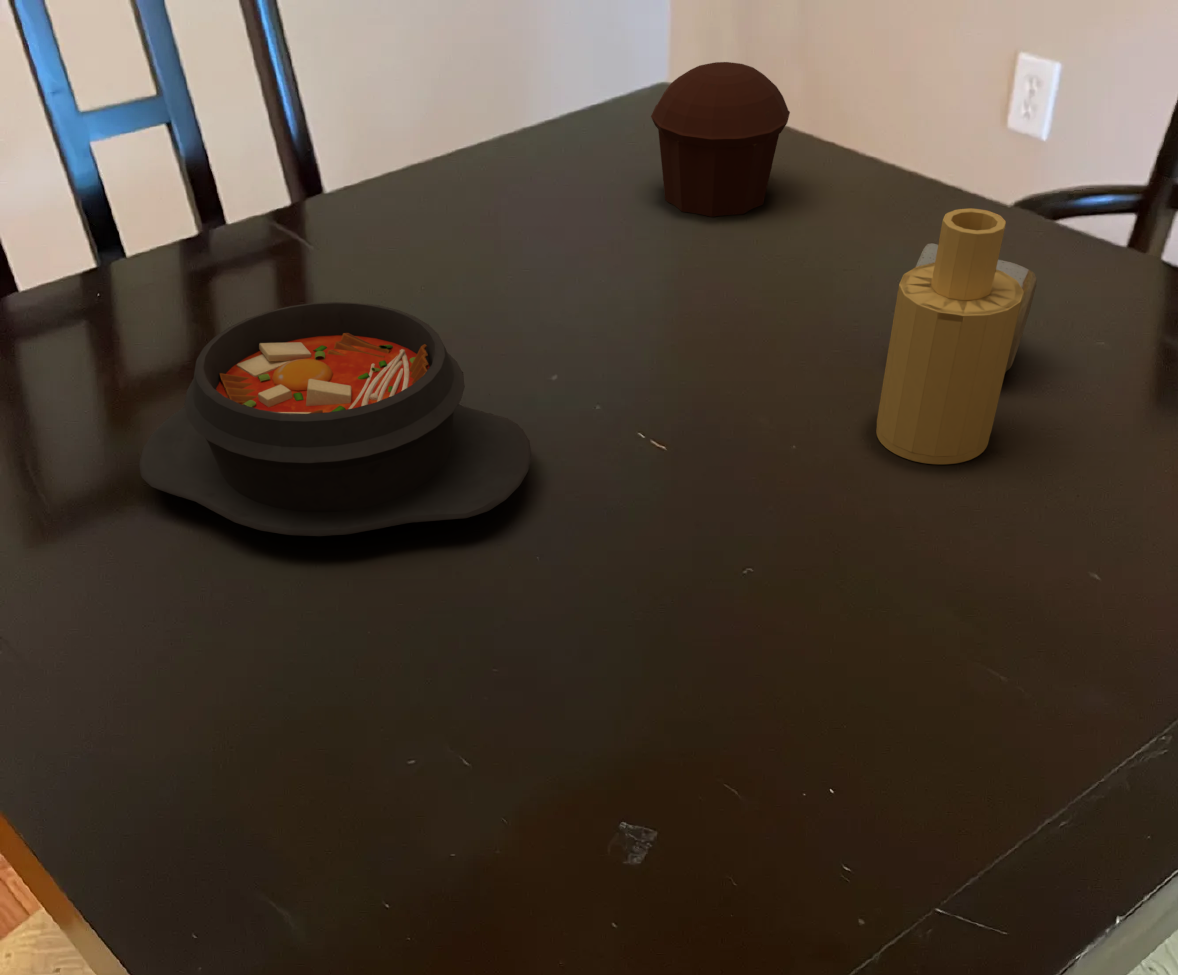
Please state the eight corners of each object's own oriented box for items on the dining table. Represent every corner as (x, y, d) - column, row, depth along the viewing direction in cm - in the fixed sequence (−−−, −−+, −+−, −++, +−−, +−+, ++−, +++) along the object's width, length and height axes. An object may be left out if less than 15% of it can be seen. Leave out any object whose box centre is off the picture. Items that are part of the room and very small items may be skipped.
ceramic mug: (1005, 396, 93) (1032, 285, 87) (889, 376, 95) (907, 267, 89) (1027, 332, 100) (1053, 226, 94) (918, 315, 102) (937, 210, 96)
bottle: (995, 418, 91) (1045, 205, 81) (979, 473, 86) (1029, 254, 76) (888, 400, 93) (923, 189, 83) (865, 453, 88) (900, 236, 78)
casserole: (558, 423, 91) (555, 301, 85) (496, 583, 79) (487, 454, 72) (210, 392, 94) (182, 273, 88) (97, 541, 82) (56, 415, 76)
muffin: (691, 233, 112) (697, 102, 105) (625, 187, 119) (627, 62, 111) (808, 204, 116) (822, 76, 108) (737, 162, 122) (746, 39, 115)
